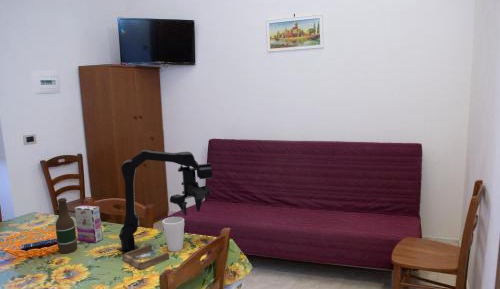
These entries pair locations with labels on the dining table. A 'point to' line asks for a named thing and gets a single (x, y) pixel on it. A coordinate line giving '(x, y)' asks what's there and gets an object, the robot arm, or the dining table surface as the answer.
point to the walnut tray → (142, 265)
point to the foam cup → (174, 232)
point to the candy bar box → (88, 223)
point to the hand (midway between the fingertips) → (191, 213)
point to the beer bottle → (65, 229)
